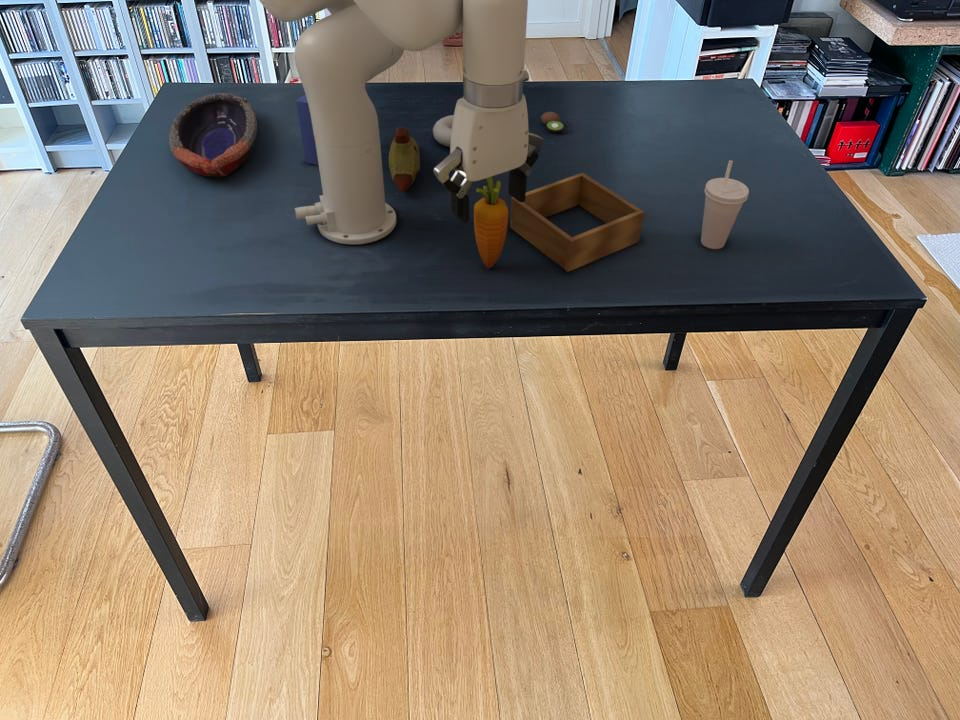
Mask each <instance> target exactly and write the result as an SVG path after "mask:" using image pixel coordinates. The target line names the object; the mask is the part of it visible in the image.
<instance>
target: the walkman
mask: <svg viewBox="0 0 960 720" xmlns="http://www.w3.org/2000/svg"><path fill="white" fill-rule="evenodd" d="M295 103H296V110H297V117H298V122H299V127H300V134H301V140H302V147H303V152H304V159H305V164H310V165H316V166H319V164H318V157H317V150H316V144H315V137H314V133H313V126H312V120H311V115H310V110H309V105H308V101H307V97H306V94H305V93H304V94H303V95H302V96H300V97H299V98H297V99H296V102H295Z"/></svg>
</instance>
